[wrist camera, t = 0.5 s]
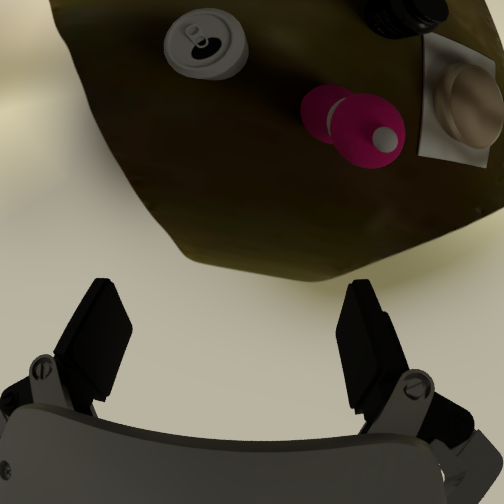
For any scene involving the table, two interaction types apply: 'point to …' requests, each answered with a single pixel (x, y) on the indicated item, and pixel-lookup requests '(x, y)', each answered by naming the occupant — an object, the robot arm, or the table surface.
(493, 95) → the pedestal
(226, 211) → the table surface
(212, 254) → the table surface
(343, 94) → the pepper mill
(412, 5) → the supplement bottle
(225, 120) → the table surface
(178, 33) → the can
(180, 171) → the table surface
